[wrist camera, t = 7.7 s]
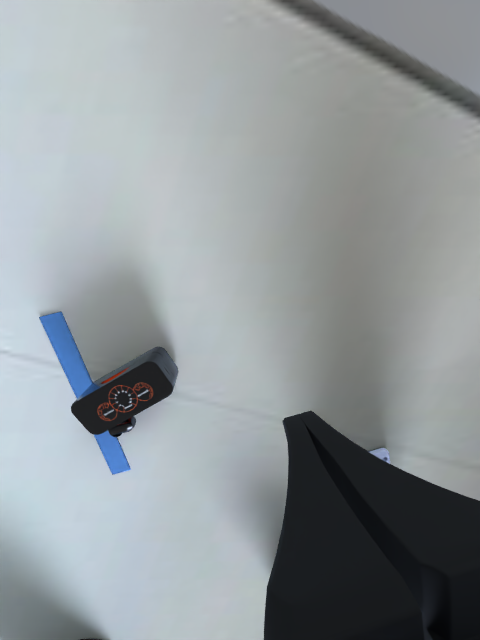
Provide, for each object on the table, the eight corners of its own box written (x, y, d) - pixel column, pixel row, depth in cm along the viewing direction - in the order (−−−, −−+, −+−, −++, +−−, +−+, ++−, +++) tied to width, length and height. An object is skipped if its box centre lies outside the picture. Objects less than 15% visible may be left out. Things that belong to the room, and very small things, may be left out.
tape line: (130, 468, 21) (130, 469, 21) (113, 473, 21) (112, 474, 21) (61, 311, 18) (60, 311, 18) (39, 316, 18) (38, 317, 18)
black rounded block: (81, 387, 19) (55, 412, 16) (162, 341, 19) (152, 357, 16) (118, 431, 21) (101, 463, 17) (195, 388, 20) (192, 412, 17)
